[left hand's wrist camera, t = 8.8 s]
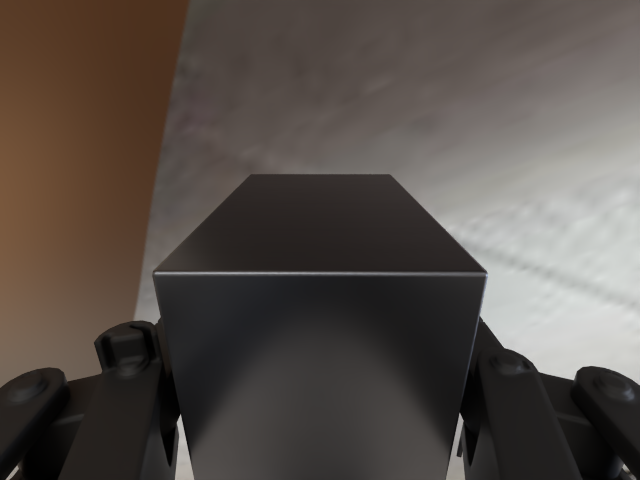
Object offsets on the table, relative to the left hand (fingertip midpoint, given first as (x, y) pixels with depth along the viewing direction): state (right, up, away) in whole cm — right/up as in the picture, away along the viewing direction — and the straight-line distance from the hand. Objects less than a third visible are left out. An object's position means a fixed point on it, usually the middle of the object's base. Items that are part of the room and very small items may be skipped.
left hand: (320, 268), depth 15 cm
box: (0, -9, +4) cm, 10 cm away
